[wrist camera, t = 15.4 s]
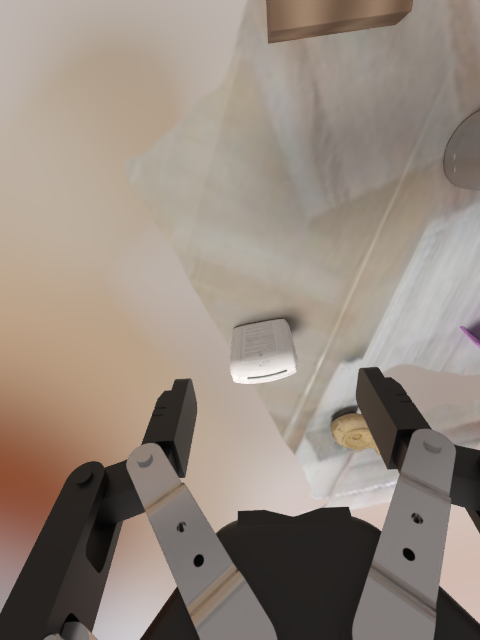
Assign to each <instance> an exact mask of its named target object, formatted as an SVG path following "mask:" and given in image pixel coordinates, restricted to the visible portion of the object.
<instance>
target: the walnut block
mask: <svg viewBox="0 0 480 640" xmlns="http://www.w3.org/2000/svg"><path fill="white" fill-rule="evenodd" d="M412 3H413V0H266V4H267V26H268V44H269V43H275V42H282V41H289V40H296V39H302V38H309V37H316V36H323V35H330V34H336V33H343V32H350V31H357V30H363V29H370V28H377V27H384V26H390V25H396V24H397V23H398V22H399V21H400V20H401V19H402V18H404V17H405V16H406V15H407V14H408V13H409V12H410V11H412Z"/></svg>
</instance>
